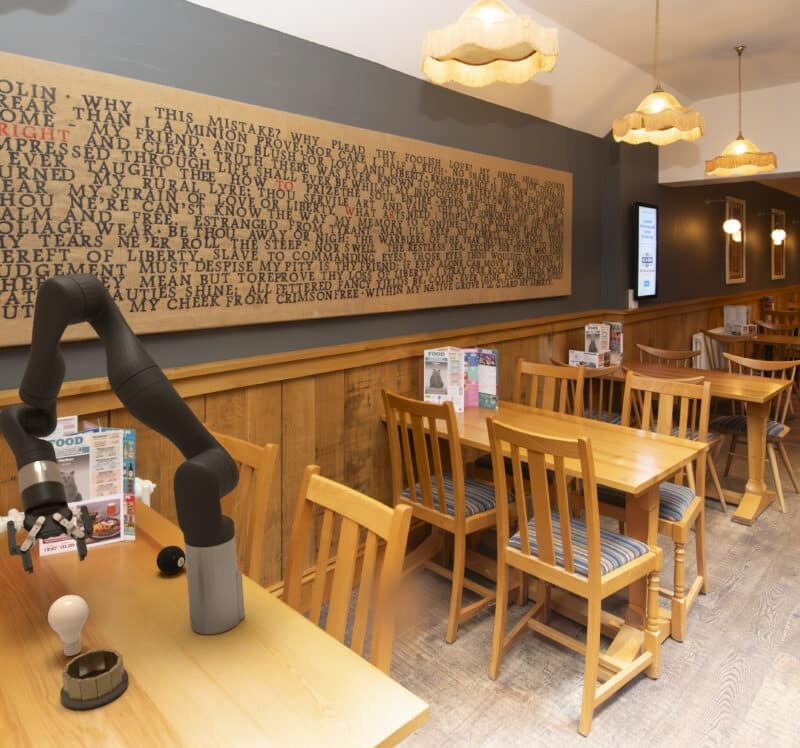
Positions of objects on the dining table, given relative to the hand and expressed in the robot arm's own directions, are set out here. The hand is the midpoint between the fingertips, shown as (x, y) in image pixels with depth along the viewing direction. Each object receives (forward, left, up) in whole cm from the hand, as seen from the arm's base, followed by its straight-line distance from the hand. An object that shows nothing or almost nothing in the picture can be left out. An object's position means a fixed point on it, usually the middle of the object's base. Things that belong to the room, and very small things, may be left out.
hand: (57, 565), depth 121 cm
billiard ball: (-25, -8, -14) cm, 30 cm away
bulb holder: (+3, +22, -13) cm, 26 cm away
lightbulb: (+2, +9, -14) cm, 16 cm away
